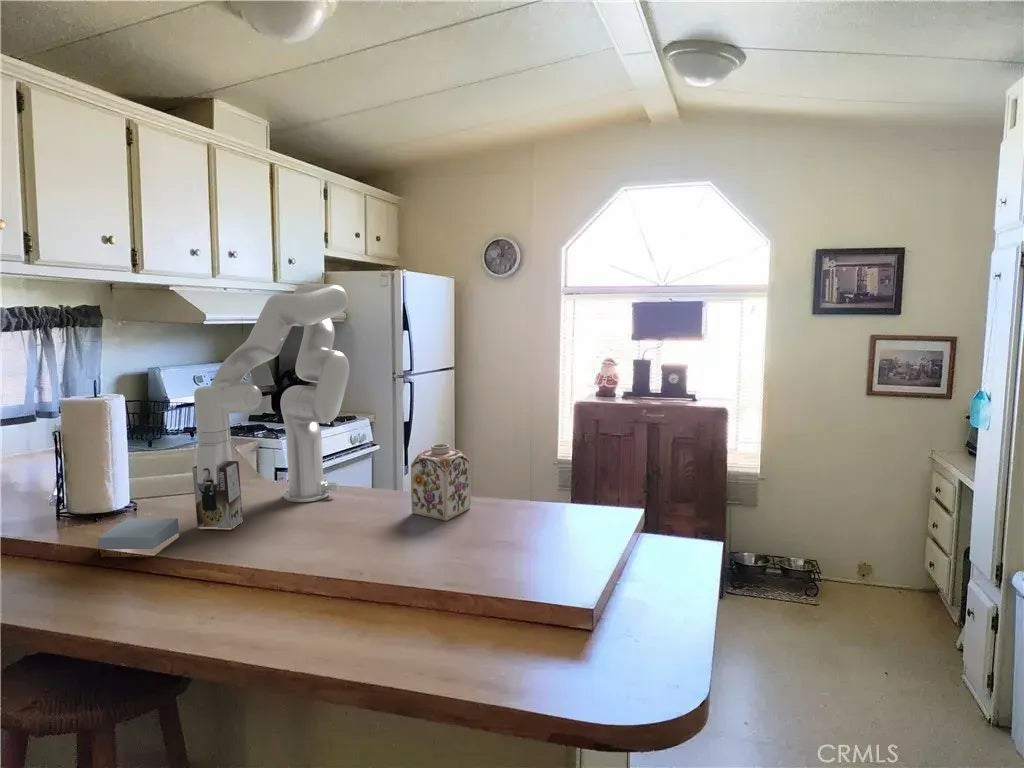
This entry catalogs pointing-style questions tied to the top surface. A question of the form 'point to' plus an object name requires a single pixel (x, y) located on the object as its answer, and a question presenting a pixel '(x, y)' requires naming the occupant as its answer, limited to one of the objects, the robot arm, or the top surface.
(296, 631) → the top surface
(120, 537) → the grey block
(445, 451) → the decorative jar
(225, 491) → the cookie box
